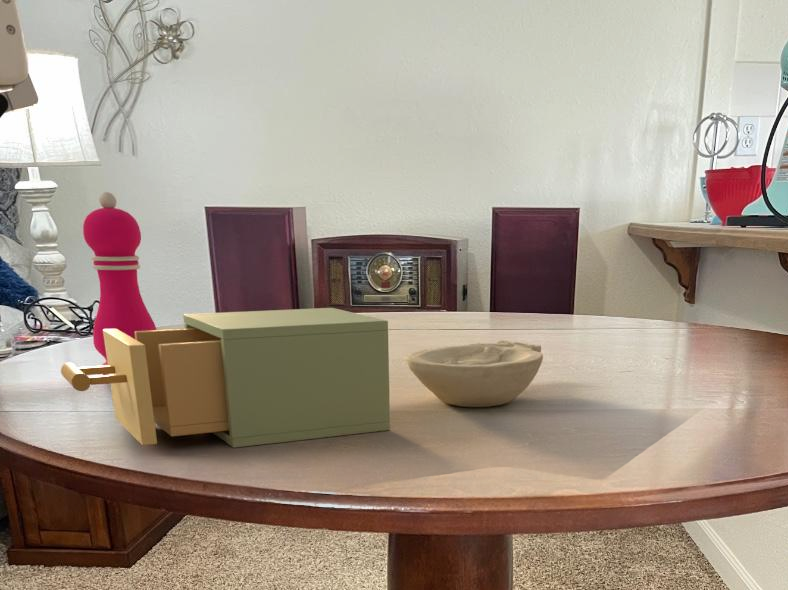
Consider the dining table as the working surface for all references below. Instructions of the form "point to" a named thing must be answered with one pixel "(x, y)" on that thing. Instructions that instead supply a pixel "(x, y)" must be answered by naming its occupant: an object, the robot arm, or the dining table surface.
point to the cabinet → (300, 373)
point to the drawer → (161, 381)
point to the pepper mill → (116, 271)
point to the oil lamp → (477, 372)
